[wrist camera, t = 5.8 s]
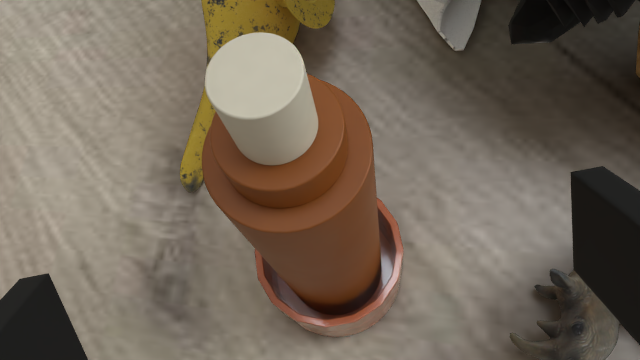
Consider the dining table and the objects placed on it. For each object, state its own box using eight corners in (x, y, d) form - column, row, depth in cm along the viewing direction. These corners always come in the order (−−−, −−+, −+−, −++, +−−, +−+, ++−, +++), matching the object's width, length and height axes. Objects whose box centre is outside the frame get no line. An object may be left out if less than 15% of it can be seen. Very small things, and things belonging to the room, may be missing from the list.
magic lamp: (329, 197, 27) (184, 212, 33) (351, -96, 32) (222, -33, 38) (232, 156, 22) (82, 183, 28) (277, -187, 27) (141, -97, 33)
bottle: (346, 334, 24) (273, 223, 9) (271, 279, 26) (100, 106, 11) (399, 255, 25) (411, 40, 10) (324, 207, 27) (237, -45, 12)
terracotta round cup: (353, 364, 24) (346, 358, 21) (249, 288, 26) (226, 269, 23) (425, 254, 26) (430, 230, 22) (322, 189, 28) (311, 157, 24)
